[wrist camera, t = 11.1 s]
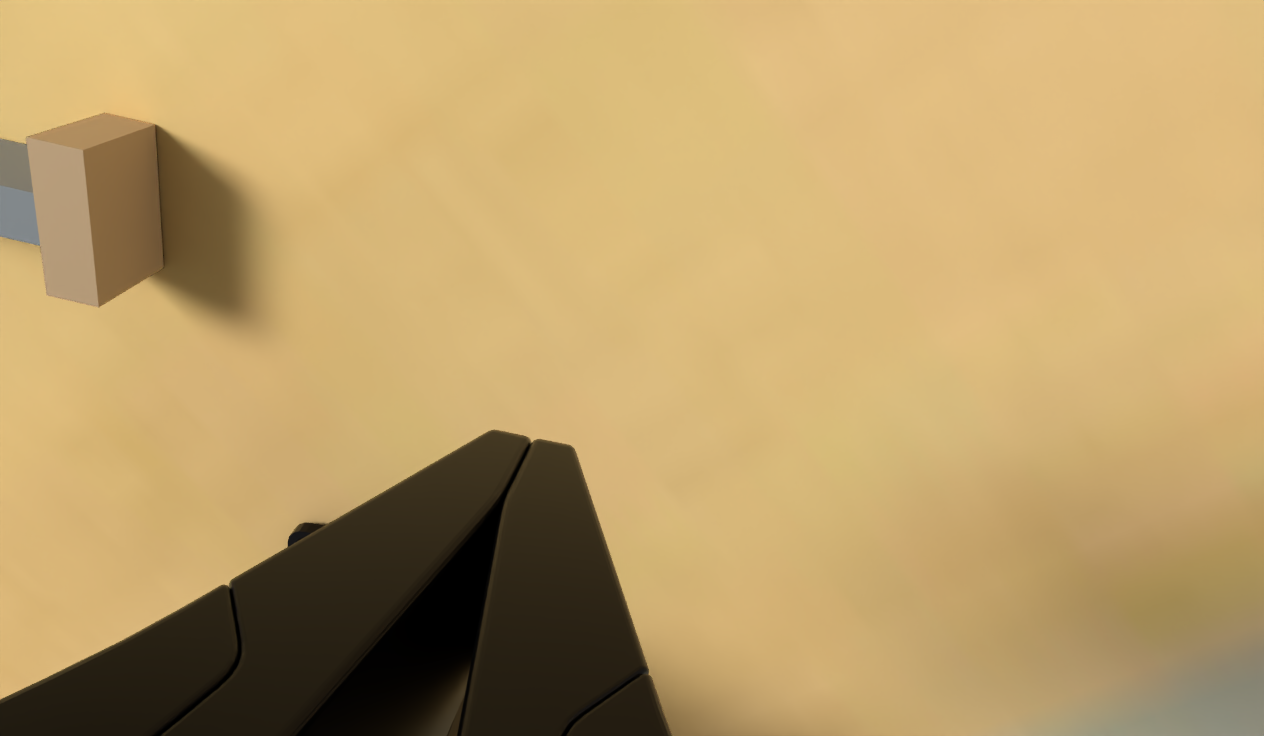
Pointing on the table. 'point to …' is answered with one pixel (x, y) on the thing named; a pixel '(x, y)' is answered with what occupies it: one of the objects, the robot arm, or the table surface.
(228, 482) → the table surface
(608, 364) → the table surface
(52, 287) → the grey piece
